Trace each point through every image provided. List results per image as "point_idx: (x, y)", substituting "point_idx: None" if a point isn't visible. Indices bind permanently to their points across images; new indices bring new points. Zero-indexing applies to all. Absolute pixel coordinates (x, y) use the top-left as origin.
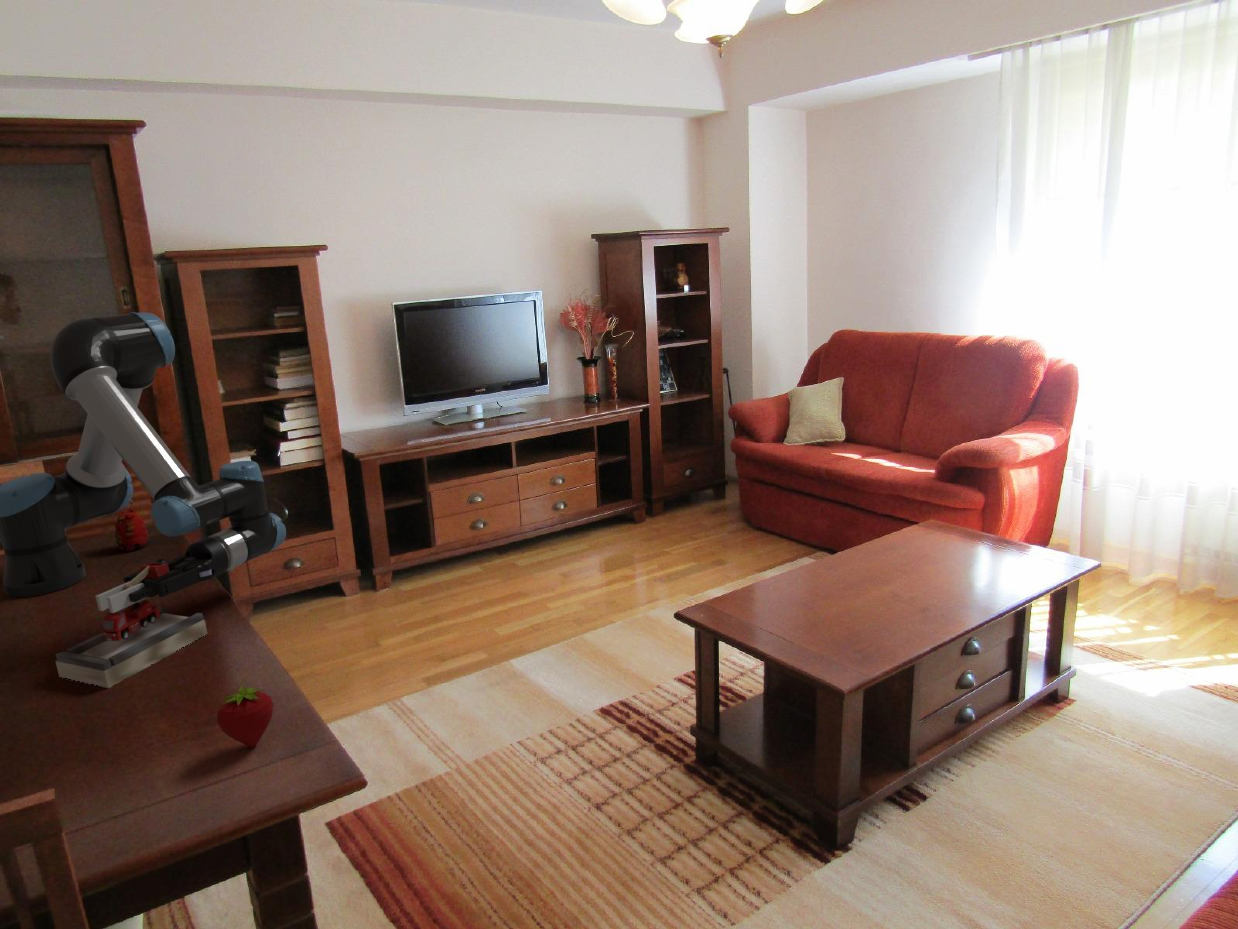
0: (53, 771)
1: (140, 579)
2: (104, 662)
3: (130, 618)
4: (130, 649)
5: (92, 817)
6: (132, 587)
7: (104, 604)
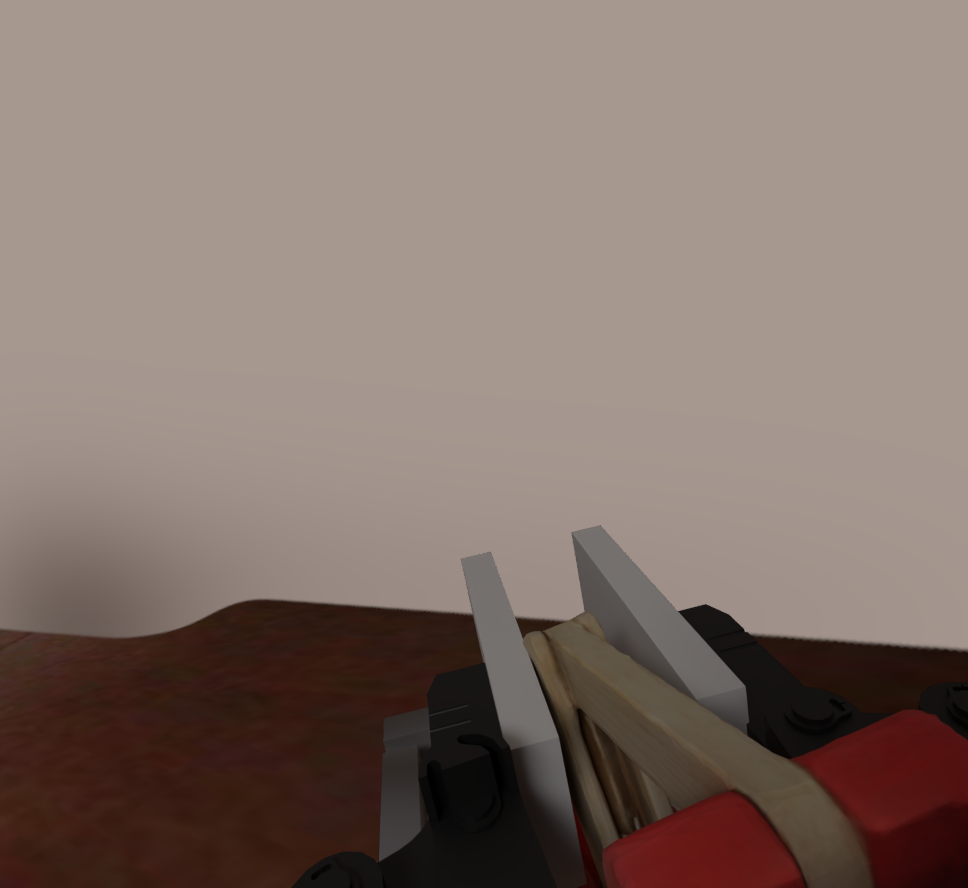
0: (199, 636)
1: (619, 733)
2: (392, 724)
3: (586, 848)
4: (390, 836)
5: (17, 648)
6: (507, 662)
7: (589, 608)
